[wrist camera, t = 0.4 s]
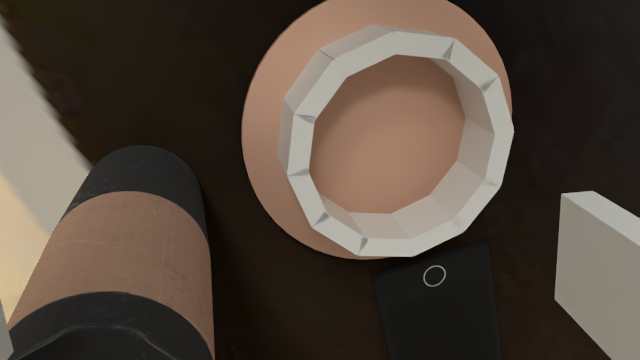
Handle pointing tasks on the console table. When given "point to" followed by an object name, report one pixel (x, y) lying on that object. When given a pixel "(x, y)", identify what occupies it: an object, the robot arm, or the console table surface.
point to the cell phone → (440, 306)
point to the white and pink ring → (378, 126)
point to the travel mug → (123, 268)
